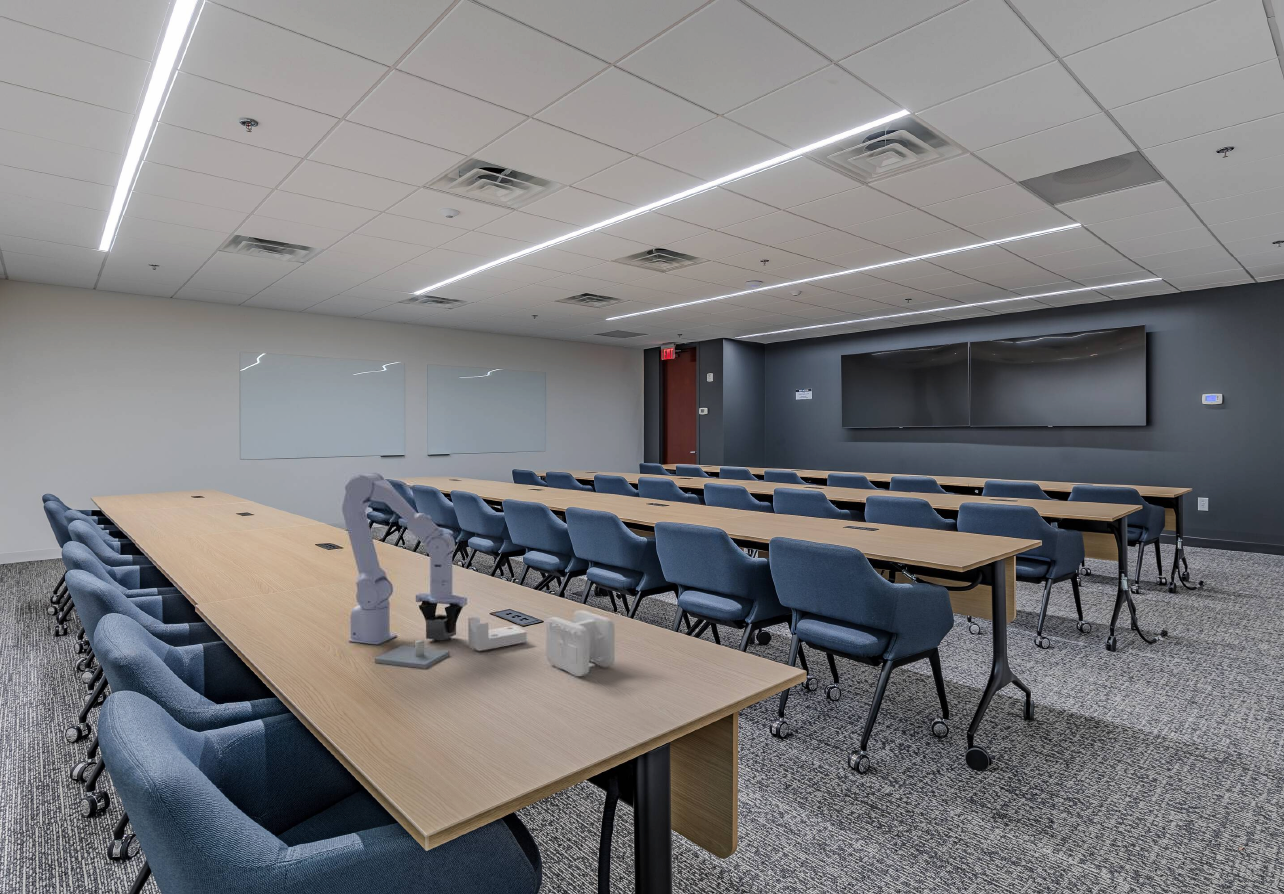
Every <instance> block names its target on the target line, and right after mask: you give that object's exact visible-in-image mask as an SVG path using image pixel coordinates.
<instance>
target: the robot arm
mask: <svg viewBox="0 0 1284 894" xmlns="http://www.w3.org/2000/svg"><path fill="white" fill-rule="evenodd" d="M344 489H345V490H344V491H345V493H344V498H343V502H342V506H341V510H342V515H343V518H344V523H345V527H346V530H347V533H348V538H349V541H350V545H351V549H352V553H353V556H354V559H355V560H354V561H355V565H356V568H357V572H358V574H357V575H358V576H357V579H356V582H355V584H356V589H357V590H356V593H355V598H356V602H357V603H358V605H356V606H355V607H353V609H352V611H351V613H350V638H349V639H347V640H348V642H352V643H360V644H361V643H362V644H370V645H380V644H383V643H385V642H387V641H389V640H391V639H393V638H397V636H398V634H397V633H391V627H390V626H391V623H390V617H391V616H390V613H391V612H390V611H391V610H390V608H391V607H390V606H391V605H390V599H389V598H391V596H392V595H393V592H394V587H393V583H392V581H391V580H390V579H389V578H388V576H387V572H386V571H385V570H384V569H383V568H381V566H380V562H379V559H378V554H377V551H376V546H375V543H374V540H373V535H372V532H371V529H370V525H369V520H368V517H367V513H366V511H367V508H368V507H369V506H370V504H371V503H372V501H374V502H375V501H376V502H380V503H385V504H386V505H387V506H388V507H389V508H390V509H392V510H393V511H394V512H395V513H396V514H397V515H399V516H400V517H401V518H402V519H403V520H404V521H405V522H406V526H407V530H408V531H409V532H410V533H411V534H412V535H413V536H414V537H416V539H418V540H419V542H420V543H422V545H424V546H426V547H425V549H426V552H427V554H428V555H429V558H430V559H429V560H430V561H429V593H418V594H415V603H421V604H419V605H418V608H419V610H420V611H421V614H422V615H423V618H424V621H425V622H426V619H429V618H431V617H433V616H435V615H437V614H436V613H437V607H438V604H441V605H448V606H445V607H444V611H445V615H447V630H448V633H451V632H453V631H455V626H456V627H457V621H458V619H459V616H460V614H461V611H462V610H463V608H464V607H465V606H468V597H465V596H464V597H463V596H460V595H455V594H453V550H454V549H455V547H456V546H455V545H456V541H455V539H454V537H453V536H452V534H451V533H450V532H446V531H445V530H444V529H443V528H440V527H438V525H437V524H436V523H435V522H434V521H432V516H431V515H430V514H427V515H426V514H425V513H424V512H419V513H418V512H417V511H416V510H415V509H414V508H413V507H412V506H411V505H410V504H409V503H408V502H407V501H406V499H404V497H403V496H401V494H400V493H399V492H398V491H397V490H396V489H395V488H394V487H393V486H392V484H391V482H390V481H389V480H387V479H385V478H384V477H383V475H381V474H380V473H378V472H370V473H365V474H357V475H353V477H351V478H350V479H349V481H348V482H347V483H346V484H345V486H344Z"/></svg>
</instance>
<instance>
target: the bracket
mask: <svg viewBox="0 0 1284 894" xmlns="http://www.w3.org/2000/svg"><path fill="white" fill-rule="evenodd" d="M480 620H481V619H480V616H472V617H468V620H467V622H468V624H467V625H468V629H467V631H468V636H467V637H468V642H467V643H468V647H469V648H470V649H472V650H475V651H477V652H481V651H487V650H492V649H496V648H501V647H507V646H511V645H512V646H513V645H517V644H523V643H527V642H528V641H527V638H528V637H527V634H528V632H527V631H526V630H524V629H523V628H520V627H519V626H518V625H510V626H505V627H499V628H493V629H492V628H491V629H489V622H488V621H486V622H481V621H480Z"/></svg>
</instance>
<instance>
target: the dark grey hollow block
mask: <svg viewBox="0 0 1284 894" xmlns="http://www.w3.org/2000/svg"><path fill="white" fill-rule="evenodd" d="M456 635H457V625H456V626H455V631H453V632H451V633H448V630H447V615H446V614H439V613H438V614H436V615H435V616H433V617H431V618H429V619H426V621H425V639H427V640H435V641H436V640H437V641H446V640H448V639H450V638H452V637H453V636H456Z"/></svg>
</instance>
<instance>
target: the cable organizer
mask: <svg viewBox="0 0 1284 894" xmlns="http://www.w3.org/2000/svg"><path fill="white" fill-rule="evenodd" d="M615 629H616V627H615V624H614V621H613V620H612V619H611V618H609V617H605V616H602V615H599V614H596V613H593V612H590V611H587V610H584V609H581V610H576V611H575V612H574V613H573V622H572V621H569V620H566V619H563V618H560V617H558V616H553V617H548V618H547V619H546V621H545V657H546V660H547V661H548V663H549V664H551V665H552V666H553V667H555V668H557V669H559V670H564V671H566V672H568V674H571V675H573V676H575V677H582V676H586V675H587V674H589V672H590V662H592V663H595V665H597V666H599V667H601V668H604V669H605V668H607V667H610V666H613V665H614V663H615V653H616V652H615V651H616V650H615V649H616V648H615V643H616V640H615Z"/></svg>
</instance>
